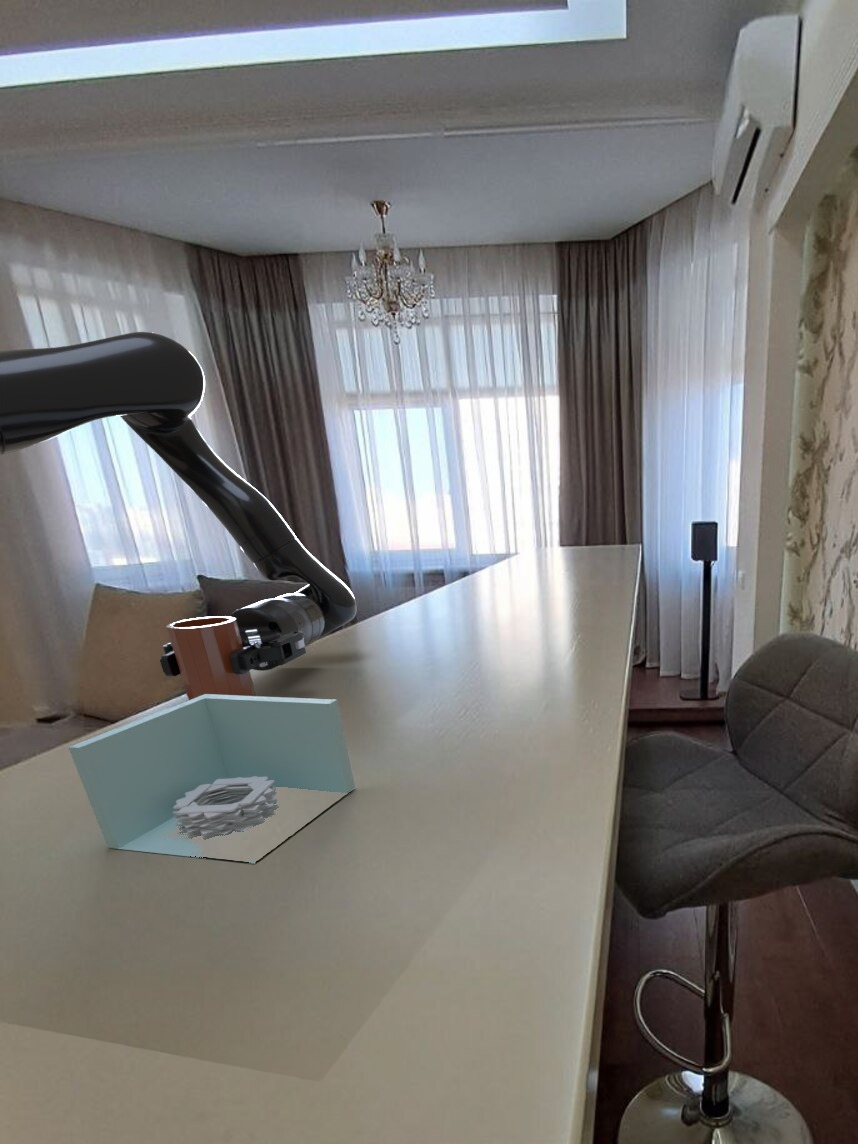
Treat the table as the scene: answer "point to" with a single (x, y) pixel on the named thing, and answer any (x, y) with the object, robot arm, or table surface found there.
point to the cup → (209, 656)
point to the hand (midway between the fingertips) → (201, 665)
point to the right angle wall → (209, 768)
